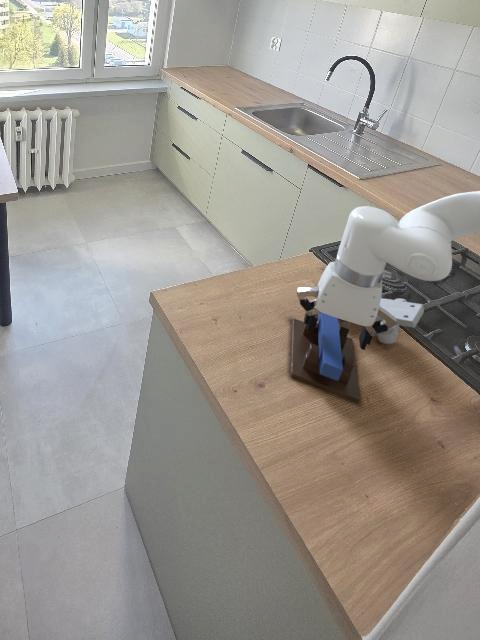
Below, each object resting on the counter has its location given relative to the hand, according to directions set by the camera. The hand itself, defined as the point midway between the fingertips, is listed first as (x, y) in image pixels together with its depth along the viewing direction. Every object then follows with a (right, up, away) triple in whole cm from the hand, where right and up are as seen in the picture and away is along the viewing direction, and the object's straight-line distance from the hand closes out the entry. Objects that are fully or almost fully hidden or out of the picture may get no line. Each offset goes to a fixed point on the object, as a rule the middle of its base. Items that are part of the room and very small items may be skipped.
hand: (334, 335), depth 85 cm
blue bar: (-1, -3, +2) cm, 3 cm away
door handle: (+16, -2, +15) cm, 22 cm away
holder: (-1, -7, +3) cm, 7 cm away
